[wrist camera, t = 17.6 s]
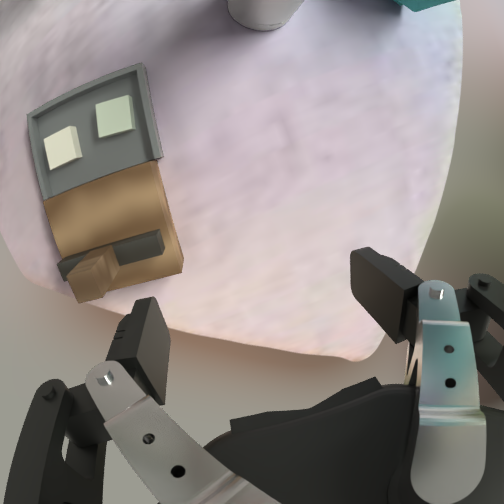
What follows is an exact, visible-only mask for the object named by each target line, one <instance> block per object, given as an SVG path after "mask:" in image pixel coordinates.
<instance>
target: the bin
mask: <svg viewBox="0 0 504 504" xmlns="http://www.w3.org/2000/svg"><path fill="white" fill-rule="evenodd" d="M126 95H129V96H131V97H132V101H133V110H134V119H135V127H136V130H133V131H129V132H125V133H121V134H118V135H114V136H110V137H107V138H99V134H98V125H97V116H96V104H99V103H102V102H105V101H109V100H112V99H115V98H119V97H122V96H126ZM27 122H28V129H29V136H30V142H31V148H32V153H33V158H34V163H35V168H36V172H37V177H38V181H39V185H40V189H41V193H42V196H43V200H46V199H49V198H51V197H53V196H56V195H58V194H60V193H63V192H65V191H67V190H70V189H72V188H75V187H77V186H80V185H82V184H85V183H87V182H90V181H92V180H95V179H98V178H100V177H103V176H106V175H108V174H111V173H114V172H117V171H120V170H123V169H126V168H129V167H132V166H135V165H138V164H141V163H144V162H147V161H151V160H154V159H157V158H161V157H164V156H163V151H162V147H161V143H160V138H159V134H158V129H157V125H156V120H155V115H154V111H153V106H152V101H151V96H150V90H149V85H148V80H147V74H146V69H145V67H144V65H143V64H142V63H139V64H136V65H133V66H130V67H127V68H124V69H121V70H118V71H116V72H113V73H110V74H108V75H105V76H103V77H100V78H98V79H96V80H93V81H91V82H89V83H86V84H84V85H82V86H80V87H77V88H75V89H73V90H71V91H69V92H67V93H65V94H63V95H61V96H59V97H57V98H55V99H53V100H51V101H50V102H48V103H46V104H44V105H42V106H41V107H39V108H37V109H35V110H34V111H32V112H30V113H29V114H27ZM68 126H74V127H76V129H77V134H78V139H79V144H80V148H81V153H82V158H79V159H77V160H75V161H72V162H70V163H68V164H66V165H64V166H62V167H60V168H57V169H53V170H50V167H49V163H48V158H47V154H46V149H45V144H44V139H45V138H47V137H49V136H51V135H53V134H54V133H56V132H58V131H60V130H62V129H64V128H66V127H68Z"/></svg>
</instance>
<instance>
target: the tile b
mask: <svg viewBox="0 0 504 504" xmlns="http://www.w3.org/2000/svg"><path fill="white" fill-rule="evenodd" d="M96 116H97V125H98V134H99V138H107V137H110V136H114V135H118V134H121V133H125V132H129V131H133V130H136V127H135V119H134V110H133V101H132V97H131V96H129V95H126V96H122V97H119V98H115V99H112V100H109V101H105V102H102V103H99V104H96Z"/></svg>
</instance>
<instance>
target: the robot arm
mask: <svg viewBox="0 0 504 504" xmlns="http://www.w3.org/2000/svg"><path fill="white" fill-rule="evenodd" d="M303 2H304V0H228V10H229V13H230V15H231V16H232V17H233V19H234V20H235V21H237V22H238V23H239V24H241V25H243V26H245V27H247V28H250V29H253V30H259V31H268V30H274V29H277V28H280V27H282V26H283V25H285V24H286V23H287V22H288V21H289V19H290V18H291V17H292V16H293V14H294V13H295V12H296V10H297V9H298V8H299V7H300V5H301V4H302V3H303ZM350 272H351V290H352V293H353V295H354V297H355V299H356V300H357V301H358V302H359V303H360V304H361V305H362V306H363V307H364V308H365V310H366V311H367V312H368V313H369V314H370V315H371V316H372V317H373V318H374V320H375V321H376V322H377V323H378V324H379V325H380V326H381V328H382V329H383V330H384V331H385V332H386V333H387V334H388V335H389V337H390V338H391V339H392V340H393V341H394V342H395V344H397V343H400V342H402V341H404V340H406V339H407V340H408V341H409V344H408V349H407V359H406V360H407V361H406V369H405V377H404V384H388V385H381V384H380V383H379V382H378V380H377V379H376V377H373V378H371V379H368V380H365V381H363V382H360V383H358V384H355V385H352V386H350V387H347V388H344V389H342V390H341V391H339V392H337V393H336V394H334V395H332V396H331V397H329V398H327V399H326V400H324V401H322V402H321V403H319V404H317V405H315V406H314V407H312V408H309V409H303V410H290V411H272V412H264V413H260V414H255V415H251V416H246V417H241V418H237V419H231V420H230V425H231V431H228V432H226V433H224V434H222V435H220V436H218V437H216V438H215V439H214V440H212V441H210V442H209V443H208V444H207V445H206V446H204V447H203V448H202V447H201V446H200V445H199V444H198V443H197V442H196V441H195V440H194V439H193V438H191V437H190V436H189V435H188V434H187V433H186V432H185V431H184V430H183V429H182V428H181V427H180V426H179V425H177V423H176V422H175V421H174V420H173V419H172V418H171V417H170V416H169V415H168V414H167V413H166V412H165V411H164V410H163V409H162V408H161V407H160V406H159V405H165V396H166V383H167V372H168V362H169V351H170V334H169V330H168V328H167V325H166V323H165V320H164V318H163V315H162V313H161V310H160V308H159V305H158V302H157V300H156V298H155V297H149V298H144V299H139V300H136V301H135V303H134V306H133V309H132V312H131V314H127V315H126V316H125V317H124V318H123V319H122V320H121V321H120V323H119V325H118V327H117V330H116V333H115V336H114V340H113V341H112V344H111V346H110V349H109V352H108V355H107V357H106V361H105V362H102V363H99V364H98V365H96V366H94V367H93V368H92V369H91V370H90V371H89V372H88V374H87V376H86V379H85V383H84V384H81V385H79V386H75V387H72V388H69V389H68V388H67V387H66V385H65V384H64V383H63V381H61V380H59V379H52V380H49V381H47V382H45V383H43V384H42V385H41V386H40V387H39V388H38V389H37V391H36V393H35V395H34V398H33V400H32V403H31V405H30V408H29V411H28V413H27V416H26V419H25V422H24V425H23V428H22V431H21V434H20V437H19V440H18V443H17V447H16V450H15V454H14V457H13V461H12V465H11V469H10V473H9V477H8V482H7V487H6V492H5V498H4V504H102V499H103V497H102V496H103V479H104V465H105V455H106V445H107V441H109V440H113V441H114V442H115V444H116V445H117V447H118V448H119V450H120V451H121V453H122V454H123V456H124V457H125V459H126V460H127V462H128V463H129V464H130V466H131V467H132V469H133V470H134V471H135V473H136V474H137V475H138V476H139V478H140V479H141V480H142V481H143V483H144V484H145V485H146V487H147V488H148V489H149V490H150V492H151V493H152V494H153V495H154V496H155V498H156V499H157V500H158V501H159V503H158V504H504V411H503V410H499V409H494V408H490V407H486V406H482V405H480V404H479V388H478V377H477V370H478V371H479V372H480V373H481V375H482V376H483V377H484V378H485V379H486V380H487V382H488V383H489V384H490V385H491V386H492V388H493V389H494V390H495V391H496V393H497V394H498V395H499V396H500V398H501V399H502V400H503V401H504V346H502V345H501V344H500V343H499V342H498V341H497V340H496V339H495V338H494V337H493V336H492V335H491V334H490V333H489V332H488V331H487V328H488V325H489V323H490V319H491V318H492V319H494V321H495V322H497V323H498V324H499V325H500V326H501V327H502V328H503V329H504V284H502V283H501V282H499V281H498V280H497V279H495V278H494V277H492V276H490V275H487V274H474V275H472V276H471V277H470V278H469V281H468V286H467V288H464V289H458V290H454V289H453V287H452V286H451V285H449V284H447V283H446V282H442V281H439V280H429V281H425V282H424V281H423V280H422V279H420V278H419V277H418V276H416V275H415V274H414V273H412V272H411V271H409V270H408V269H406V268H405V267H404V266H402V265H400V263H398V262H397V261H395V260H394V259H392V258H390V257H387V256H384V255H380V254H379V253H377V252H376V251H374V250H373V249H372V248H370V247H365V248H361V249H357V250H353V251H352V252H351V254H350ZM64 436H66V437H67V438H68V439H69V444H68V449H67V454H66V460H65V461H64V459H63V457H62V445H63V441H64Z"/></svg>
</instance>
